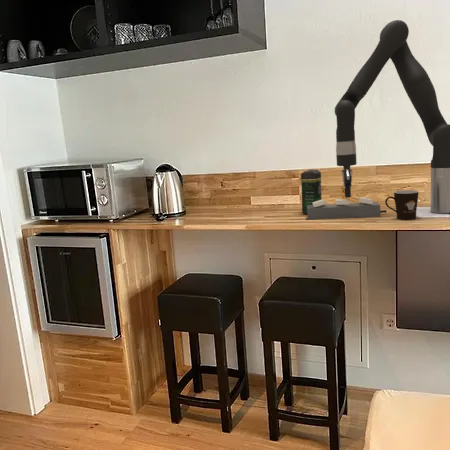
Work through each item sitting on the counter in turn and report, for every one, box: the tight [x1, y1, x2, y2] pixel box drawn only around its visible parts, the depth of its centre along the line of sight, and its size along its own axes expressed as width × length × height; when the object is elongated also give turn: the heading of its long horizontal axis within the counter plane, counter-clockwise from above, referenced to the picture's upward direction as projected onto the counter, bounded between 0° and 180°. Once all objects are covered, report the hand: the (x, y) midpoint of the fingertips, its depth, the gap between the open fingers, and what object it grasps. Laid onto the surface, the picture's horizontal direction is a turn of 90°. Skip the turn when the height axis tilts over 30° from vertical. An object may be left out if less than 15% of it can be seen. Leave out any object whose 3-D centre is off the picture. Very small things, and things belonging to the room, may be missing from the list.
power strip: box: [306, 201, 388, 221], centre depth 194 cm, size 31×8×5 cm, turn 80°
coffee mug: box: [385, 189, 420, 221], centre depth 180 cm, size 12×9×10 cm
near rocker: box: [358, 196, 375, 205], centre depth 190 cm, size 5×4×2 cm
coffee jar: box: [300, 169, 323, 215], centre depth 205 cm, size 10×8×19 cm
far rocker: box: [313, 198, 327, 207], centre depth 193 cm, size 5×4×2 cm
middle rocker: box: [335, 198, 351, 205], centre depth 192 cm, size 5×4×2 cm
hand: (347, 197), depth 191 cm, fingers closed
